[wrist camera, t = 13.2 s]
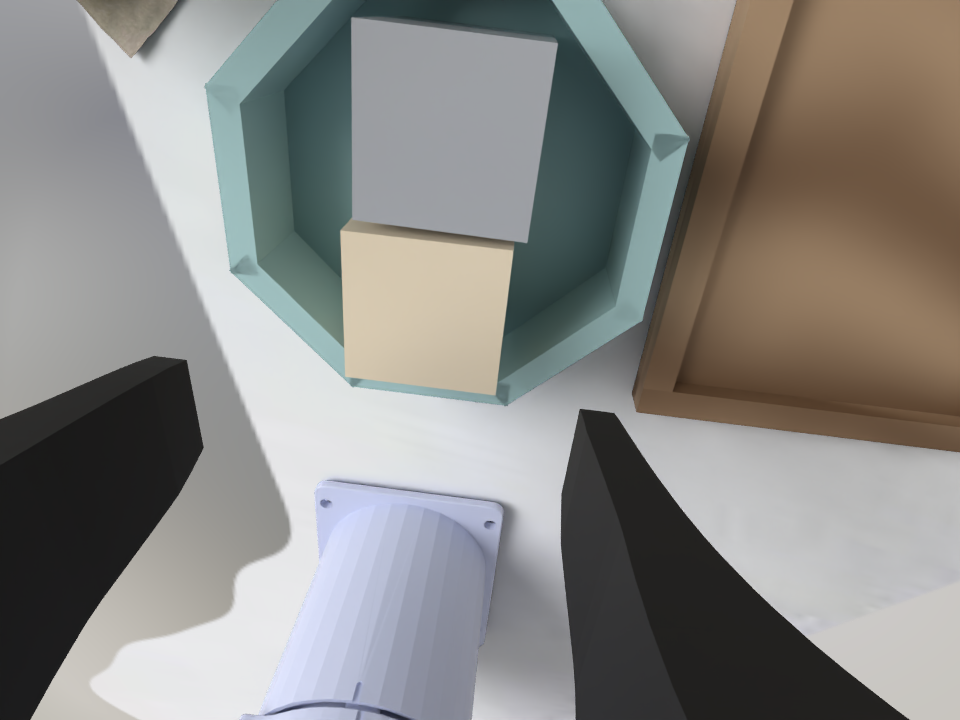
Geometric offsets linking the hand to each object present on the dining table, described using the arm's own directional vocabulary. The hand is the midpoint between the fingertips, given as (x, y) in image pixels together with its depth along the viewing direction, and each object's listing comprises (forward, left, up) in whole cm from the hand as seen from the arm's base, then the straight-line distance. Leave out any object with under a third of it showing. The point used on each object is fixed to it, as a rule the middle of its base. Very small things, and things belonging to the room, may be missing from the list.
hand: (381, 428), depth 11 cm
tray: (+3, -13, -10) cm, 17 cm away
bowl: (+2, 0, -10) cm, 10 cm away
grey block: (+4, 0, -9) cm, 10 cm away
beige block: (0, 0, -9) cm, 9 cm away
